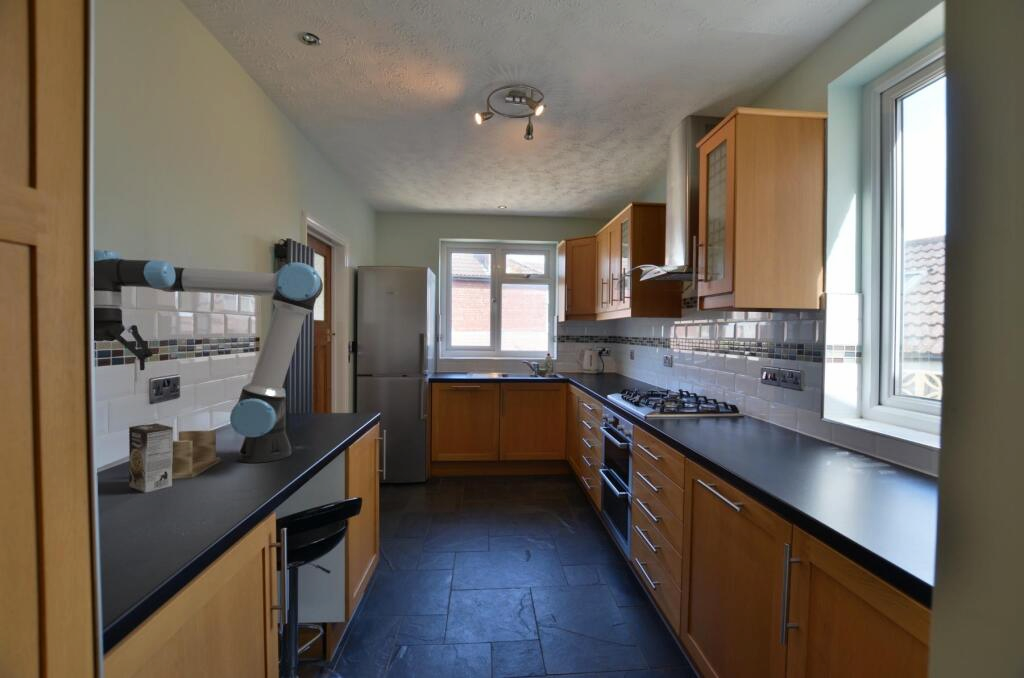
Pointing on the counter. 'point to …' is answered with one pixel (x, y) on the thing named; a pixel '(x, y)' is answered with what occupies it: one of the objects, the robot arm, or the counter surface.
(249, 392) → the robot arm
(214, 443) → the oak holder
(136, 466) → the coffee box
